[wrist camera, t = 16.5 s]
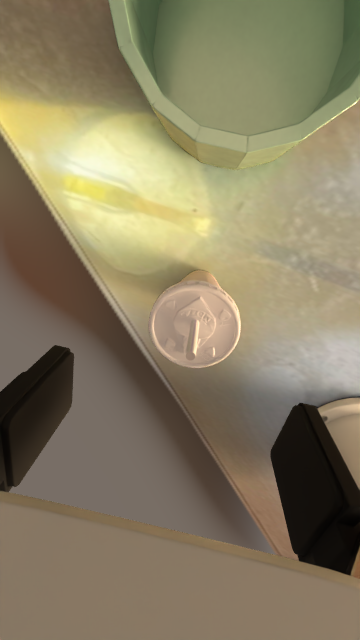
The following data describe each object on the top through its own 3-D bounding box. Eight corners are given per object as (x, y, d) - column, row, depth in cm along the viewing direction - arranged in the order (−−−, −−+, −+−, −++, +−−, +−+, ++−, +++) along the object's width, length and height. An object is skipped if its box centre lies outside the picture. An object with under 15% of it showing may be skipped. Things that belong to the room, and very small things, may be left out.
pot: (333, 193, 22) (399, 187, 14) (103, 141, 22) (46, 108, 15) (440, -67, 16) (651, -317, 8) (122, -133, 16) (42, -432, 9)
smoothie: (239, 263, 25) (266, 322, 13) (223, 322, 28) (233, 422, 15) (173, 250, 26) (135, 297, 13) (164, 311, 28) (124, 399, 15)
